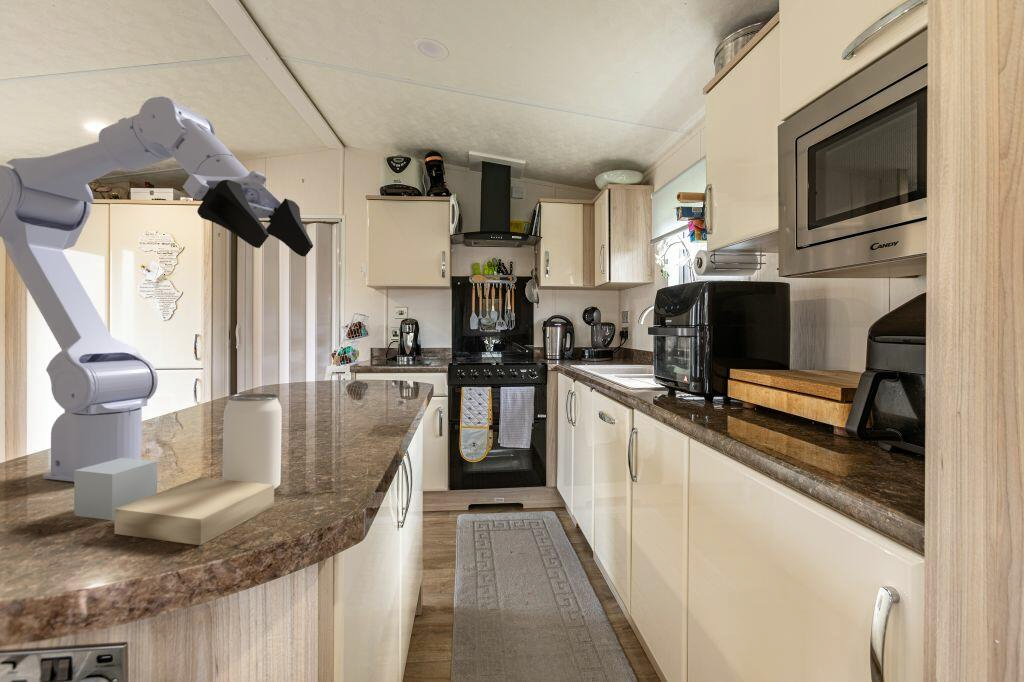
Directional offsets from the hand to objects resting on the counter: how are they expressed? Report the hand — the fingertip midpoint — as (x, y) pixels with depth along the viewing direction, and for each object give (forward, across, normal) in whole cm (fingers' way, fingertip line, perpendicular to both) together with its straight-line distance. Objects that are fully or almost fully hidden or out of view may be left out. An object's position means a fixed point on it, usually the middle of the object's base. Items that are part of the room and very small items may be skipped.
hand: (286, 246), depth 56 cm
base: (+19, -10, +24) cm, 32 cm away
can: (+18, -1, +26) cm, 31 cm away
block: (+11, -10, +32) cm, 35 cm away
